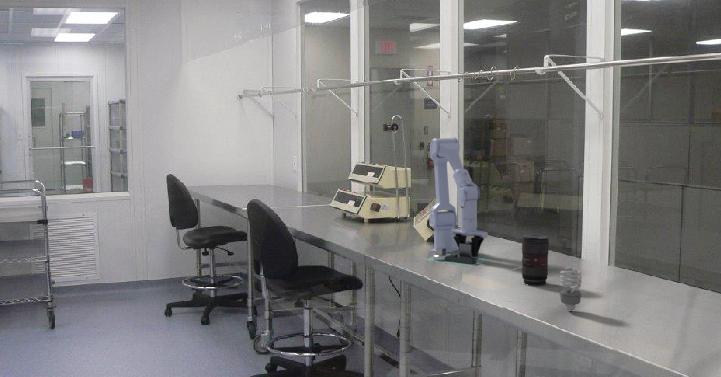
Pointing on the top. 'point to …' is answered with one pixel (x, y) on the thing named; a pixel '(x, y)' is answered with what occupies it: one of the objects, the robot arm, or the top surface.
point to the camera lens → (535, 259)
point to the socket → (466, 249)
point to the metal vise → (452, 257)
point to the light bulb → (570, 295)
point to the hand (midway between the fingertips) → (468, 255)
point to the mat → (478, 261)
